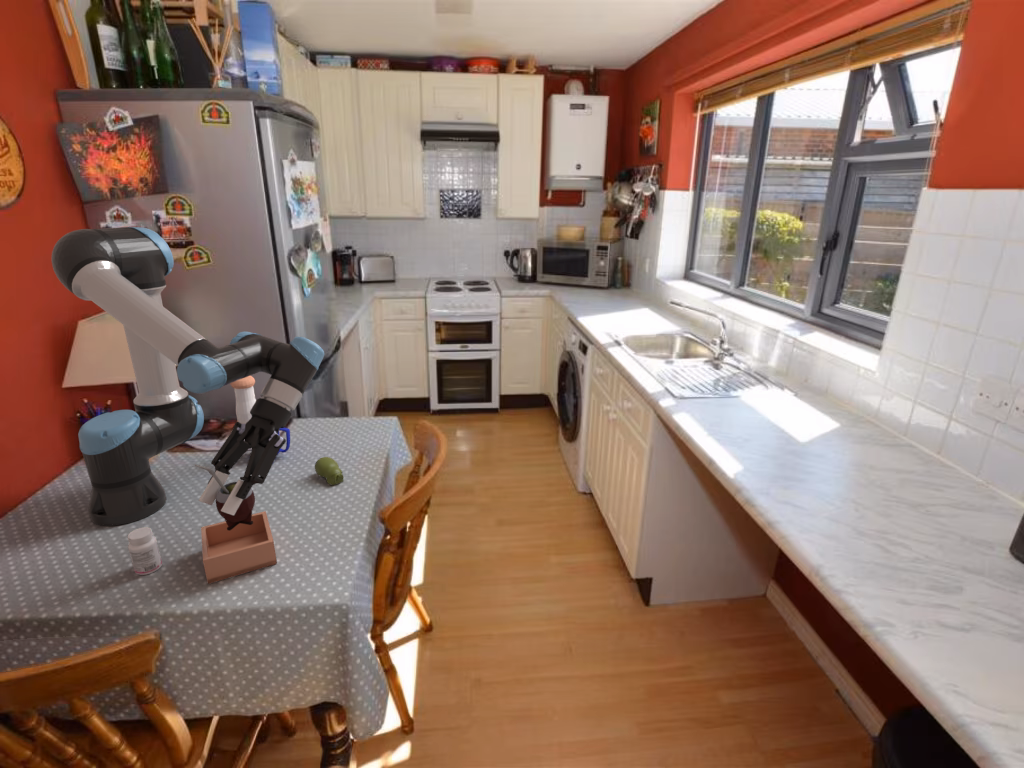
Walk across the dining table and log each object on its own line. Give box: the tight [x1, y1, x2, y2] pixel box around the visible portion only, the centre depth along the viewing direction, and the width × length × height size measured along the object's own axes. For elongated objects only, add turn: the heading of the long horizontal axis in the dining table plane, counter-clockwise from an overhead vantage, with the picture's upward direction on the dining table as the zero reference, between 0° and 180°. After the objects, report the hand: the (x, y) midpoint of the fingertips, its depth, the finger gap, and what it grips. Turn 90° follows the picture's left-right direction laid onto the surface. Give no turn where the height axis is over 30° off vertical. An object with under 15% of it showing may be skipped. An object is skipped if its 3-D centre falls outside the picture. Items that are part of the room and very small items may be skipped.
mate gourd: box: [194, 464, 256, 531], centre depth 106 cm, size 8×8×15 cm
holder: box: [200, 510, 278, 585], centre depth 111 cm, size 13×13×6 cm
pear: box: [314, 456, 344, 486], centre depth 142 cm, size 6×5×10 cm
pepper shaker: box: [229, 375, 257, 424], centre depth 168 cm, size 7×7×19 cm
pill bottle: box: [127, 526, 163, 576], centre depth 106 cm, size 5×5×8 cm
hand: (216, 507), depth 104 cm, fingers closed on mate gourd, 6 cm apart
